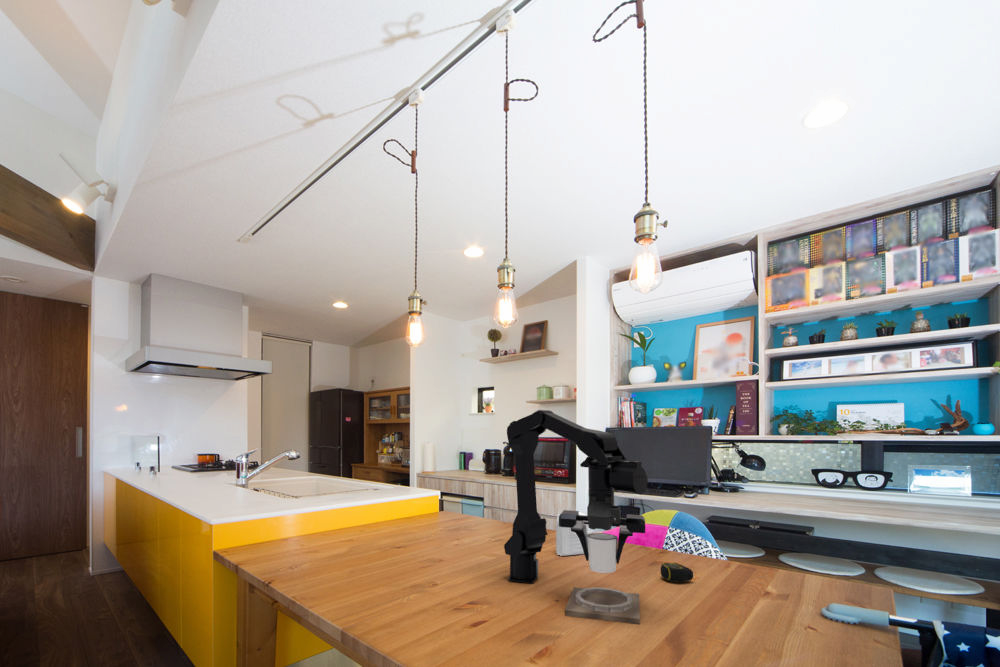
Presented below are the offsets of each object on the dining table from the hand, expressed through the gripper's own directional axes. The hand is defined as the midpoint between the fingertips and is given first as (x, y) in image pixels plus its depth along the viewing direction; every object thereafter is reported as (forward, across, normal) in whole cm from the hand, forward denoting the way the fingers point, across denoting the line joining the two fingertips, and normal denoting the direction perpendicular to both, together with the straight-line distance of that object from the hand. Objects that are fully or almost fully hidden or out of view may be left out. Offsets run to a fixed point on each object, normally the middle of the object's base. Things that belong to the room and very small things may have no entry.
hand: (602, 561), depth 109 cm
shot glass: (+2, 0, 0) cm, 2 cm away
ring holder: (+9, 0, 0) cm, 9 cm away
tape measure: (+10, +17, +25) cm, 31 cm away
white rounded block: (+10, -12, +41) cm, 44 cm away
